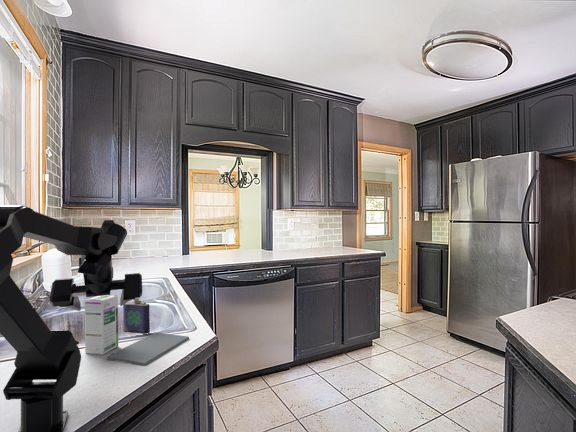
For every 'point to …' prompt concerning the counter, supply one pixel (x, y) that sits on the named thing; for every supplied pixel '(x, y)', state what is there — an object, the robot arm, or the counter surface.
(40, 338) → the robot arm
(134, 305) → the flask
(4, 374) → the counter surface
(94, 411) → the counter surface
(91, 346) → the syrup box
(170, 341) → the slate mat
